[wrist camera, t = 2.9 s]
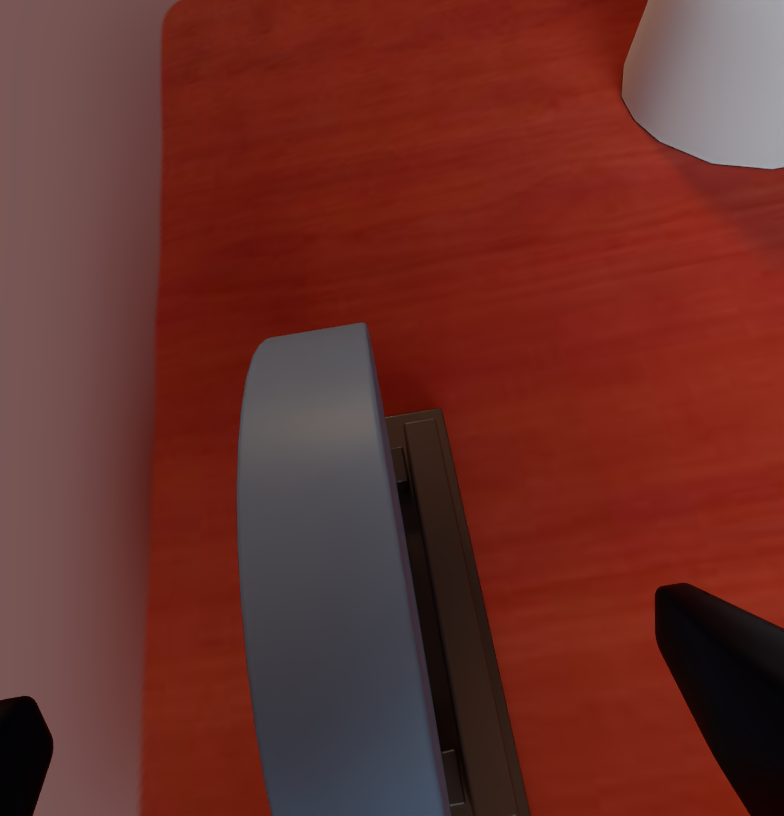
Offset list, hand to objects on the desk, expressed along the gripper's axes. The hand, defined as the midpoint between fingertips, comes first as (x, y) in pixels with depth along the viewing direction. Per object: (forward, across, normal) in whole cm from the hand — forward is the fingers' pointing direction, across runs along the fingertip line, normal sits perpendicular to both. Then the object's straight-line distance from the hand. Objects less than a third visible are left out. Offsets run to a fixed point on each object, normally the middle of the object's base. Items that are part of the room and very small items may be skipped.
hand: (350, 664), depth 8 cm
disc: (+4, 0, +1) cm, 4 cm away
